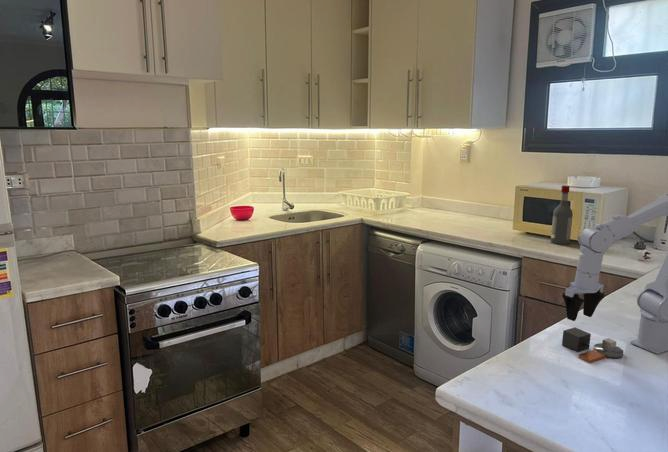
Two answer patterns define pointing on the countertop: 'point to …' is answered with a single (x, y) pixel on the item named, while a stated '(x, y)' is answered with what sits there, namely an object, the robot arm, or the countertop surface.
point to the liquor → (562, 220)
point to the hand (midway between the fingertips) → (579, 317)
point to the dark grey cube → (576, 339)
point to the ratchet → (602, 351)
